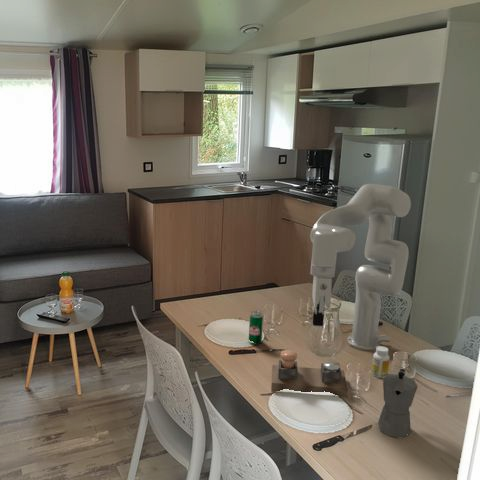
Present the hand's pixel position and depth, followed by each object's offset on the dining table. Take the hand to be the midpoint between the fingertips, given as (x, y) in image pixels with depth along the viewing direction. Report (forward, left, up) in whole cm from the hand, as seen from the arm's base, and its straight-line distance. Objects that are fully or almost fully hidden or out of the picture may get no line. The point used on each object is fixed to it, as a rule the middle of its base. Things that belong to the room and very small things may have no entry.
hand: (317, 324), depth 170 cm
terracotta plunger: (+8, 0, -16) cm, 18 cm away
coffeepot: (-23, +20, -22) cm, 37 cm away
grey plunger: (-6, 0, -18) cm, 19 cm away
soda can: (+20, -29, -22) cm, 42 cm away
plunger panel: (+1, 0, -22) cm, 22 cm away
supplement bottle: (-24, -11, -22) cm, 34 cm away
